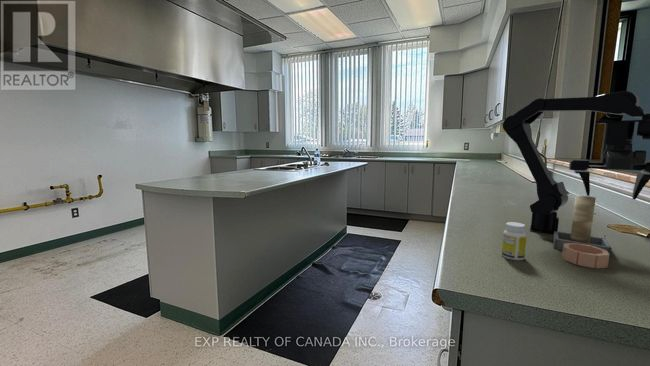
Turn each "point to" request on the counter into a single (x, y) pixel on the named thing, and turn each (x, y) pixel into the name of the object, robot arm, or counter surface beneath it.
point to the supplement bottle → (514, 241)
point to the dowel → (582, 219)
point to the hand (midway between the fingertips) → (610, 197)
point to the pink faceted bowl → (585, 255)
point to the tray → (564, 238)
